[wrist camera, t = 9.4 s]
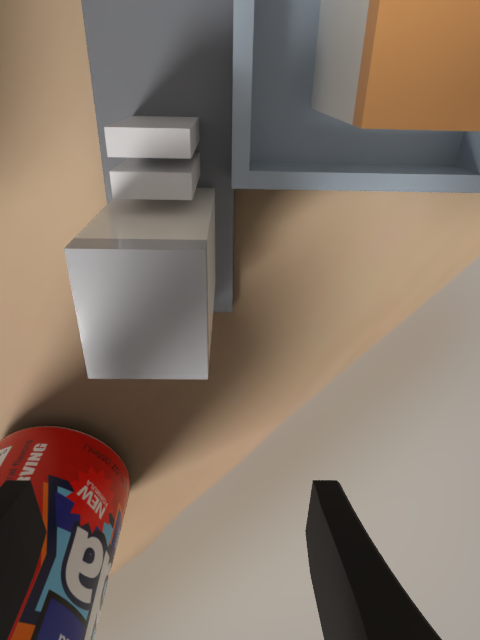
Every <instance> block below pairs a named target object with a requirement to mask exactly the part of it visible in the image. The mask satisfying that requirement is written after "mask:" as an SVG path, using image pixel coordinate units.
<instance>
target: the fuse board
mask: <svg viewBox="0 0 480 640" xmlns="http://www.w3.org/2000/svg"><path fill="white" fill-rule="evenodd" d="M81 2H82V10H83V17H84V25H85V33H86V41H87V49H88V57H89V64H90V72H91V80H92V88H93V96H94V104H95V111H96V119H97V127H98V135H99V143H100V151H101V159H102V166H103V174H104V182H105V190H106V198H107V204H108V203H109V202H110V201H111V200H112V199H148V200H192V199H193V196H194V193H195V190H196V188H215V295H214V307H213V312H232V300H233V225H234V189H232V86H233V0H81Z"/></svg>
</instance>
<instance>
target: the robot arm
mask: <svg viewBox="0 0 480 640" xmlns="http://www.w3.org/2000/svg"><path fill="white" fill-rule="evenodd" d="M46 533H47V531H46V528H45V525H44V522H43V518H42V515H41V512H40V509H39V505H38V502H37V499H36V496H35V492H34V489H33V486H32V483H31V480H7V481H5V482H4V483H3V484H2V485H1V486H0V640H7V639H8V637H9V634H10V632H11V630H12V627H13V625H14V623H15V620H16V618H17V615H18V613H19V611H20V608H21V606H22V603H23V601H24V599H25V596H26V594H27V591H28V589H29V586H30V584H31V581H32V579H33V576H34V574H35V570H36V567H37V564H38V561H39V557H40V554H41V550H42V547H43V543H44V540H45V536H46ZM306 540H307V548H308V558H309V567H310V574H311V579H312V584H313V589H314V594H315V598H316V603H317V608H318V612H319V617H320V621H321V626H322V631H323V635H324V640H442V639H441V638H440V637H439V636H438V634H437V633H436V632H435V631H434V629H433V628H432V627H431V625H430V624H429V623H428V621H427V620H426V619H425V617H424V616H423V615H422V613H421V612H420V611H419V609H418V608H417V607H416V605H415V604H414V603H413V601H412V600H411V598H410V597H409V596H408V594H407V593H406V591H405V590H404V589H403V587H402V586H401V584H400V583H399V582H398V580H397V578H396V577H395V575H394V574H393V573H392V571H391V570H390V568H389V567H388V565H387V564H386V562H385V561H384V559H383V557H382V556H381V554H380V553H379V551H378V549H377V548H376V546H375V545H374V543H373V542H372V540H371V538H370V537H369V535H368V533H367V532H366V530H365V529H364V527H363V525H362V523H361V522H360V520H359V518H358V517H357V515H356V513H355V511H354V509H353V508H352V506H351V504H350V502H349V500H348V498H347V496H346V495H345V493H344V491H343V489H342V487H341V485H340V483H339V482H337V481H332V480H330V481H329V480H325V481H324V480H321V481H320V480H318V481H317V480H313V484H312V490H311V498H310V504H309V511H308V518H307V525H306Z"/></svg>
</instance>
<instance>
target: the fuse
mask: <svg viewBox="0 0 480 640" xmlns="http://www.w3.org/2000/svg"><path fill="white" fill-rule="evenodd" d="M64 251H65V256H66V262H67V267H68V273H69V278H70V283H71V289H72V294H73V300H74V305H75V310H76V316H77V321H78V327H79V332H80V337H81V343H82V348H83V354H84V359H85V364H86V370H87V375H88V379H208V372H209V359H210V346H211V333H212V320H213V307H214V295H215V188H196V190H195V193H194V196H193V199H192V200H148V199H112V200H111V201H110V202H109V203H108V204H107V205H106V206H105V207H104V208H103V209H102V210H101V211H100V212H99V213H98V214H97V215H96V216H95V217H94V218H93V219H92V220H91V221H90V222H89V223H88V224H87V225H86V227H85V228H84V229H83V230H82V231H81V232H80V233H79V234H78V235H77V236H76V237H75V238H74V239H73V240H72V241H71V242H70V243H69V244H68V245H67V246H66V247H65V248H64Z"/></svg>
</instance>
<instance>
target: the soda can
mask: <svg viewBox="0 0 480 640" xmlns="http://www.w3.org/2000/svg"><path fill="white" fill-rule="evenodd" d="M7 480H31V483H32V486H33V489H34V492H35V496H36V499H37V502H38V505H39V509H40V512H41V515H42V518H43V522H44V525H45V528H46V531H47V533H46V536H45V540H44V543H43V547H42V550H41V554H40V557H39V561H38V564H37V567H36V570H35V574H34V576H33V579H32V581H31V584H30V586H29V589H28V591H27V594H26V596H25V599H24V601H23V603H22V606H21V608H20V611H19V613H18V615H17V618H16V620H15V623H14V625H13V627H12V630H11V632H10V634H9V637H8V639H7V640H94V636H95V633H96V628H97V624H98V620H99V616H100V612H101V608H102V604H103V600H104V596H105V592H106V588H107V584H108V580H109V575H110V571H111V567H112V563H113V559H114V555H115V551H116V547H117V543H118V539H119V535H120V531H121V526H122V522H123V518H124V514H125V510H126V506H127V501H128V497H129V491H130V478H129V474H128V471H127V469H126V467H125V465H124V463H123V461H122V460H121V458H120V457H119V456H118V455H117V454H116V453H115V452H114V451H113V450H112V449H111V448H110V447H109V446H108V445H106V444H105V443H103V442H102V441H100V440H98V439H97V438H95V437H93V436H91V435H88V434H86V433H83V432H80V431H77V430H74V429H69V428H64V427H56V426H38V427H31V428H26V429H23V430H19V431H17V432H14V433H12V434H10V435H8V436H6V437H5V438H3V439H2V440H1V441H0V486H1V485H2V484H3V483H4V482H5V481H7Z"/></svg>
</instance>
